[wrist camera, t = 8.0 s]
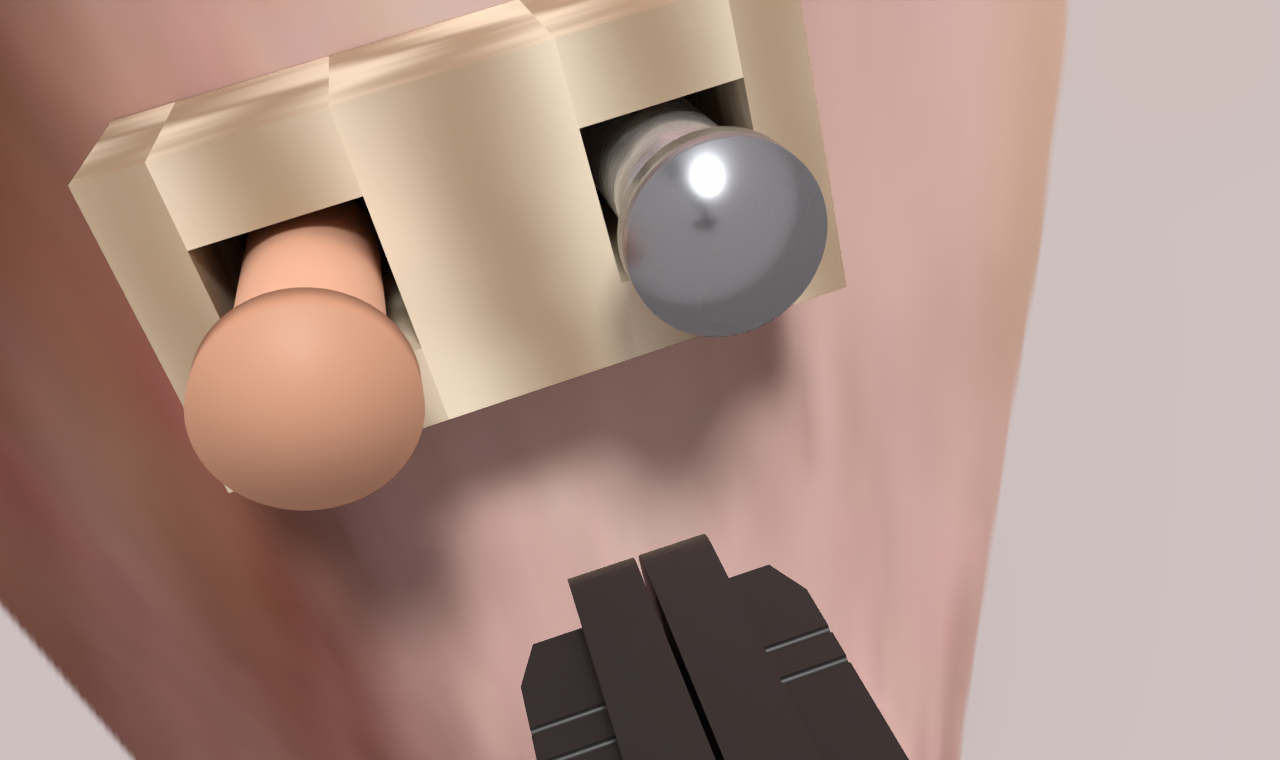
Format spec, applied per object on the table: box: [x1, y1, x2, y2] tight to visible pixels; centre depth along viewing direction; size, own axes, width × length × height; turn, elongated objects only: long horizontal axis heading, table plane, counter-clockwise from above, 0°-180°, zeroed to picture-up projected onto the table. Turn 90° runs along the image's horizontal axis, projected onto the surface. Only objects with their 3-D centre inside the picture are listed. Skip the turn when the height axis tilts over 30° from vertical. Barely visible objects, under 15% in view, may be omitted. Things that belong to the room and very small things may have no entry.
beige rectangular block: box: [68, 0, 846, 493], centre depth 32 cm, size 18×9×6 cm, turn 104°
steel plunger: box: [579, 96, 828, 337], centre depth 30 cm, size 5×5×10 cm
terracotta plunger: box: [184, 199, 425, 511], centre depth 28 cm, size 5×5×10 cm
